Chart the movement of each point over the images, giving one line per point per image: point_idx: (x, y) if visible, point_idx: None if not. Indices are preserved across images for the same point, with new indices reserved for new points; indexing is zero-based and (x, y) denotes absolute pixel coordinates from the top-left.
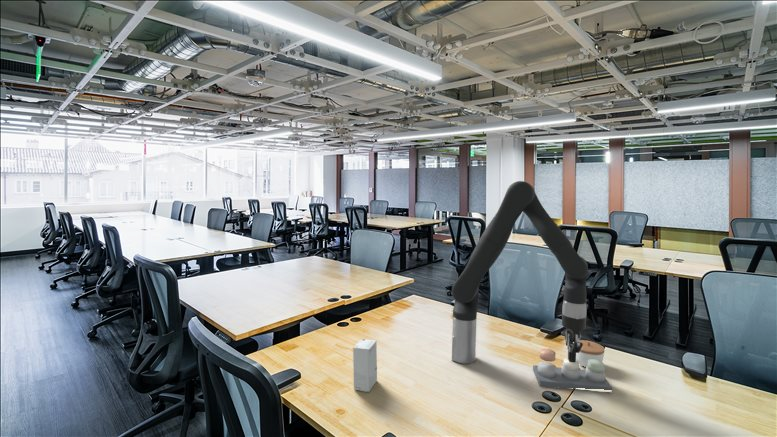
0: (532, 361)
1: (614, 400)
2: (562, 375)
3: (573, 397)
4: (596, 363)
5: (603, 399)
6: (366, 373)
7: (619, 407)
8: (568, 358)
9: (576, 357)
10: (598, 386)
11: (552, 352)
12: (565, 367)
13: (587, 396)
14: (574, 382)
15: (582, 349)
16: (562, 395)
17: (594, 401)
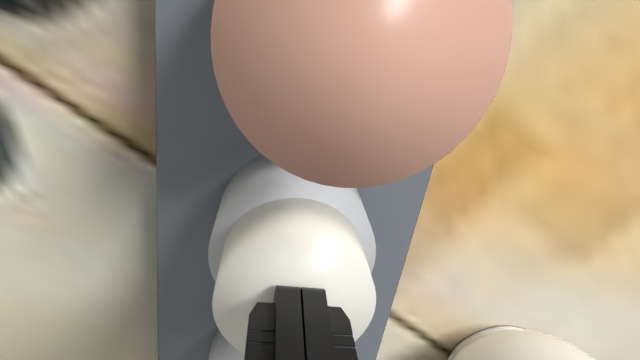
0: (633, 6)
1: (87, 347)
2: None
3: (45, 124)
4: None
5: (81, 300)
6: None
7: (10, 343)
8: (301, 301)
9: (523, 351)
10: (159, 333)
11: (332, 137)
12: (266, 209)
13: (92, 225)
14: (184, 205)
15: None
16: (51, 45)
17: (35, 243)
